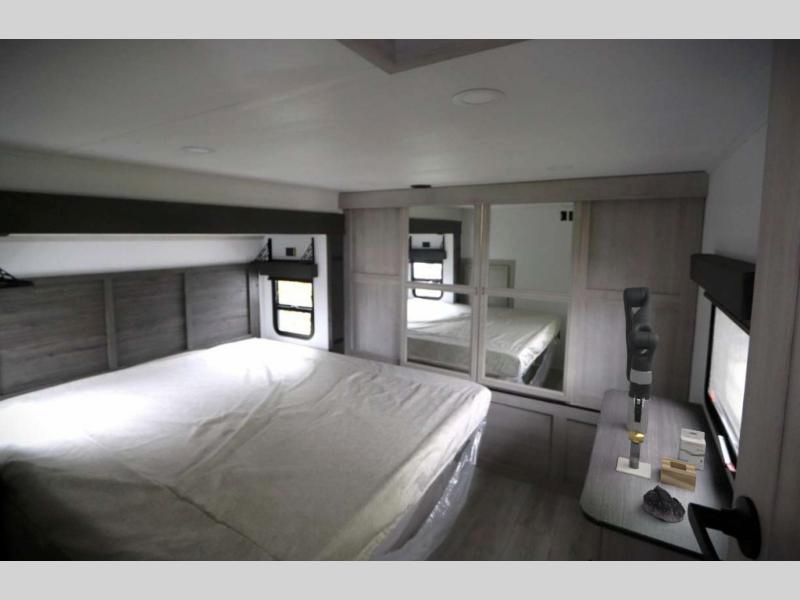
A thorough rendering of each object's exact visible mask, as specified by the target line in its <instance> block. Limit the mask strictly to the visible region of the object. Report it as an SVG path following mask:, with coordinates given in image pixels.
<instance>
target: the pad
mask: <svg viewBox="0 0 800 600" xmlns="http://www.w3.org/2000/svg"><path fill="white" fill-rule="evenodd" d="M651 468H652V464H650V463H647V462H643V461H639V469H632V468H630V467H629V458H625V457H622V456H619V457H618V460H617V465H616V470H615V471H616V472H619V473H623V474H627V475H630V476H634V477H638V478H642V479H647V480H651V470H652V469H651Z"/></svg>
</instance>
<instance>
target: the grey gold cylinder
mask: <svg viewBox="0 0 800 600" xmlns="http://www.w3.org/2000/svg"><path fill="white" fill-rule="evenodd" d="M627 439H628V440H629V441H630V444H629V445H630V446H629V447H630V448H629V458H628V459H629V467H630V468H632V469H639V462H640V458H641V447H642V446H641V445H642V443H644V441H645V433H643V432H641V431H638V430H628V437H627Z"/></svg>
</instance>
